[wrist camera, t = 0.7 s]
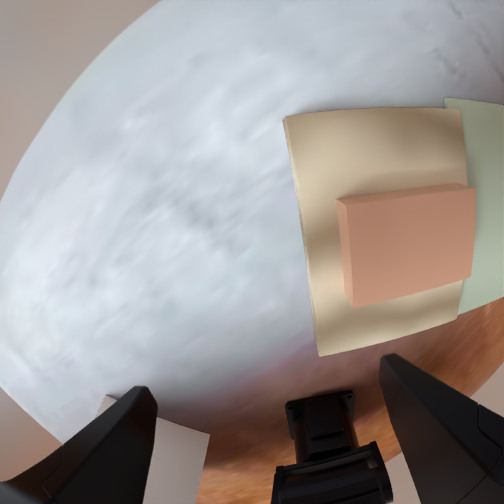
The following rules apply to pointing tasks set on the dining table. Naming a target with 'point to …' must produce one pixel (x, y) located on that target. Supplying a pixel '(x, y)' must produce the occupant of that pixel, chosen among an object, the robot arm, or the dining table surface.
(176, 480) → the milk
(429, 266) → the tile
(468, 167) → the mat
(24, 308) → the dining table surface
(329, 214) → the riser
